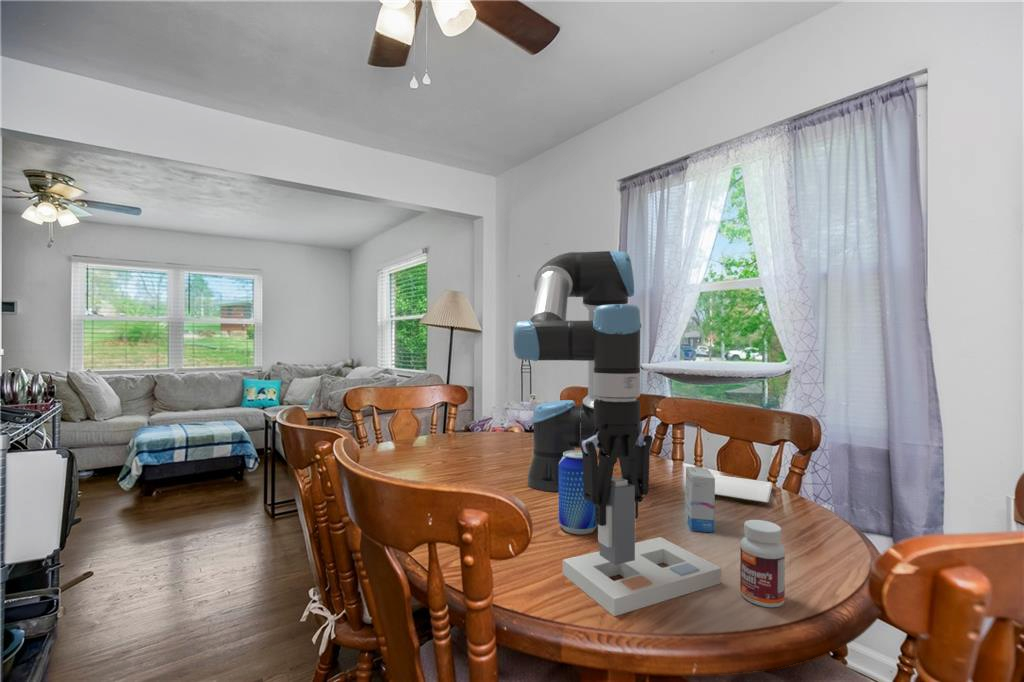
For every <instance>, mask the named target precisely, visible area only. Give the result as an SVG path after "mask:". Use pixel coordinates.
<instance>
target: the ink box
mask: <svg viewBox="0 0 1024 682" xmlns="http://www.w3.org/2000/svg"><path fill="white" fill-rule="evenodd" d="M684 488H685V491H684V492H685V497H684V519H685V521H686V523H687V525H688V527H689V530H690V531H691V532H704V533H714V532H715V503H716V501H715V500H716V499H715V498H716V497H715V478H714V476H713V475H712V473H711V471H710V470H709V468H706V467H695V466H685V487H684Z"/></svg>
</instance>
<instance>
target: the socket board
mask: <svg viewBox="0 0 1024 682" xmlns="http://www.w3.org/2000/svg"><path fill="white" fill-rule="evenodd" d="M659 564H665V565H666V566H665V567H662V566H660V565H659ZM562 575H563V576H564V577H565V578H566V579H568V580H569V581H570V582H571V583H572V584H574V585H575V586H576V587H577V588H579V589H580V590H581V591H582V592H584V593H585V594H586V595H587V596H588V597H590V598H591V599H592V600H594V601H595V602H596V603H597V604H598V605H600V607H602V608H603V609H604V610H606V611H607V612H608V613H610V614H611V615H612V616H613V617H617V616H621V615H624V614H627V613H629V612H633V611H636V610H639V609H643V608H646V607H650V606H652V605H653V606H654V605H656V604H659V603H662V602H666V601H668V600H669V601H670V600H672V599H676V598H678V597H682V596H685V595H687V594H690V593H694V592H697V591H701V590H703V589H707V588H710V587H714V586H717V585H719V584H722V568H721V567H720V566H718V565H715V564H714V563H712V562H710V561H708V560H706V559H704V558H702V557H700V556H698V555H696V554H694V553H692V552H691V551H688V550H687V549H684V548H682V547H680V546H678V545H677V544H674V543H673V542H671V541H668V540H667V539H665V538H663V537H661V536H659V537H655V538H651V539H646V540H642V541H641V540H640V541H638V542H635V560H634V561H630V562H626V563H622V564H618V565H614V564H612V563H611V562H609V561H608V560H606V559H605V558H603V557H602V556H600V550H599V551H593V552H590V553H586V554H581V555H577V556H573V557H569V558H564V559H562ZM618 575H620V576H621V577H622V578H620V579H617V580H613V579H611V577H615V576H618Z"/></svg>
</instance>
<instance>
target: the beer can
mask: <svg viewBox="0 0 1024 682" xmlns="http://www.w3.org/2000/svg"><path fill="white" fill-rule="evenodd" d="M558 524H559V525H561V529H562V530H563V531H564V532H565V533H566V532H567V533H569V534H573V535H588V534H591V533H593V532H594V531H595V529H596V528H597V527H598V524H596V522H595V504H594V503H592V502H590V501H588V500H586V499H585V498H584V486H583V454H582V451H581V449H579V450H578V449H576V450H571V451H566V452H564V453H563V457H562V459H561V460H560V462H559V491H558Z"/></svg>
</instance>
